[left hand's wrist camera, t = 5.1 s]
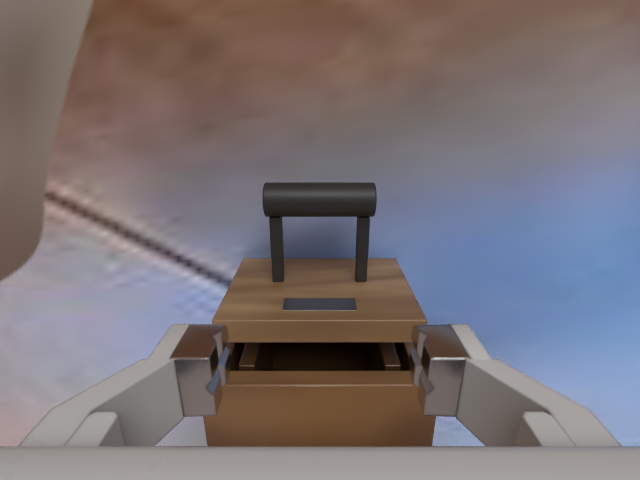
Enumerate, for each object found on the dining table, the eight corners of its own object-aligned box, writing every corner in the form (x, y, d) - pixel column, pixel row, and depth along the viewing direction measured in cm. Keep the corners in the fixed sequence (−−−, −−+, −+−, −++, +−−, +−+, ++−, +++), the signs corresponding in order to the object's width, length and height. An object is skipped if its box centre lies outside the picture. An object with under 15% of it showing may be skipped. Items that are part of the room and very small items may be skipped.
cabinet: (239, 289, 25) (197, 385, 16) (399, 288, 25) (441, 384, 16) (257, 498, 32) (235, 643, 23) (381, 498, 32) (404, 642, 23)
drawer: (236, 172, 21) (197, 202, 14) (402, 172, 21) (441, 202, 14) (260, 476, 29) (243, 585, 23) (378, 476, 29) (396, 585, 23)
